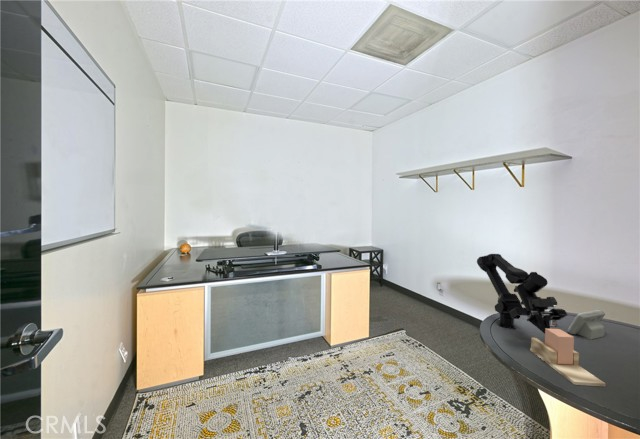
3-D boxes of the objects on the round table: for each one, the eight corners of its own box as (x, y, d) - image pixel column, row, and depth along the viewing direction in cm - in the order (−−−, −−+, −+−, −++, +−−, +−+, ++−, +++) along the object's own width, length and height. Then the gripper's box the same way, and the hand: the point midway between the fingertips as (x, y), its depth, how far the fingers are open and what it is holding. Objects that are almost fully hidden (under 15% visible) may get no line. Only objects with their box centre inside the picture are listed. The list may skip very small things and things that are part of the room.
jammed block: (544, 353, 95) (545, 328, 95) (558, 354, 95) (559, 329, 94) (557, 363, 89) (558, 336, 89) (572, 364, 89) (574, 337, 88)
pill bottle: (551, 322, 124) (552, 302, 124) (559, 327, 119) (560, 307, 118) (538, 320, 126) (538, 301, 125) (544, 325, 120) (545, 305, 120)
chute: (530, 350, 99) (530, 337, 99) (555, 351, 99) (555, 338, 98) (574, 384, 81) (575, 368, 80) (605, 386, 80) (606, 369, 79)
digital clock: (591, 328, 118) (592, 306, 117) (615, 338, 109) (616, 314, 108) (559, 329, 116) (560, 307, 116) (581, 340, 107) (582, 316, 107)
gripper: (515, 288, 102) (534, 327, 91) (564, 289, 100) (590, 329, 89) (502, 299, 110) (519, 337, 99) (547, 301, 108) (569, 339, 97)
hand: (548, 335), depth 96 cm, fingers closed
